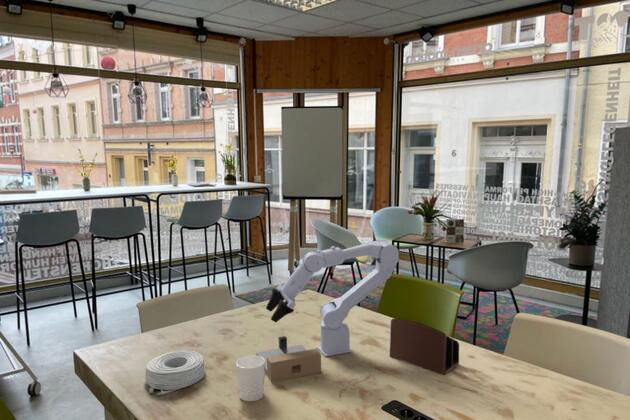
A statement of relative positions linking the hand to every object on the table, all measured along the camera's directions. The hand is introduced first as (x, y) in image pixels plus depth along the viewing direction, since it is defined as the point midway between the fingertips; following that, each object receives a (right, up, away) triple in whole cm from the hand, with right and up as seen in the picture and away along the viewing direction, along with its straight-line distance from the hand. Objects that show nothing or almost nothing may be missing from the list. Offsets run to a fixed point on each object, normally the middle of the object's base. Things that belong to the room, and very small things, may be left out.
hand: (270, 315), depth 150 cm
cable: (-28, -16, -13) cm, 35 cm away
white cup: (-3, -17, -24) cm, 29 cm away
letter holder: (+50, -14, -4) cm, 52 cm away
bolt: (+5, -13, -4) cm, 14 cm away
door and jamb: (+6, -15, -5) cm, 16 cm away
